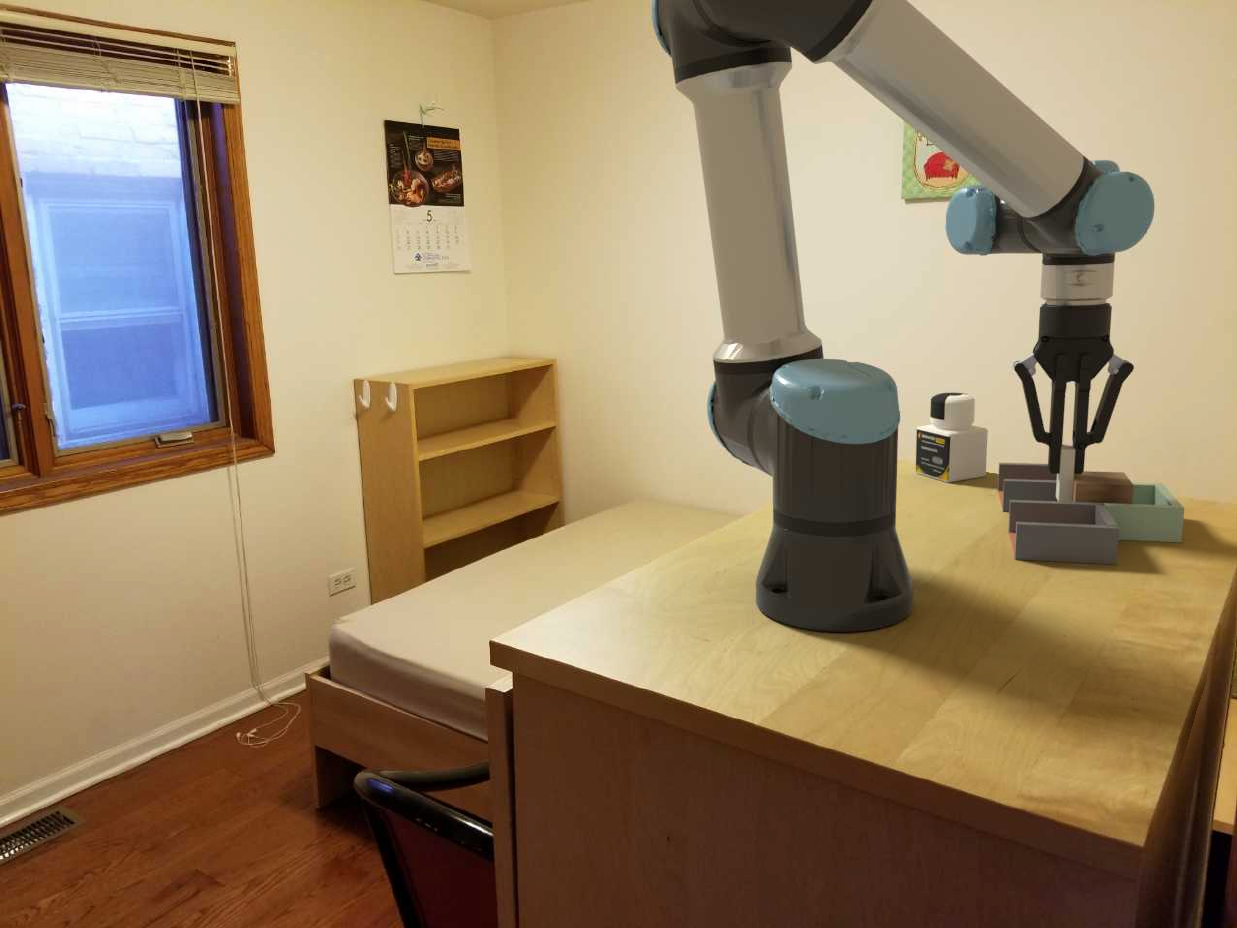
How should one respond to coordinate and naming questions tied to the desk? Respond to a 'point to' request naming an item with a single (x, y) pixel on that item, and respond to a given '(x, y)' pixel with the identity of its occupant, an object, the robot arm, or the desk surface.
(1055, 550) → the box
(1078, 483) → the walnut block
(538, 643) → the desk surface
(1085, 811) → the desk surface
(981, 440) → the medicine bottle
